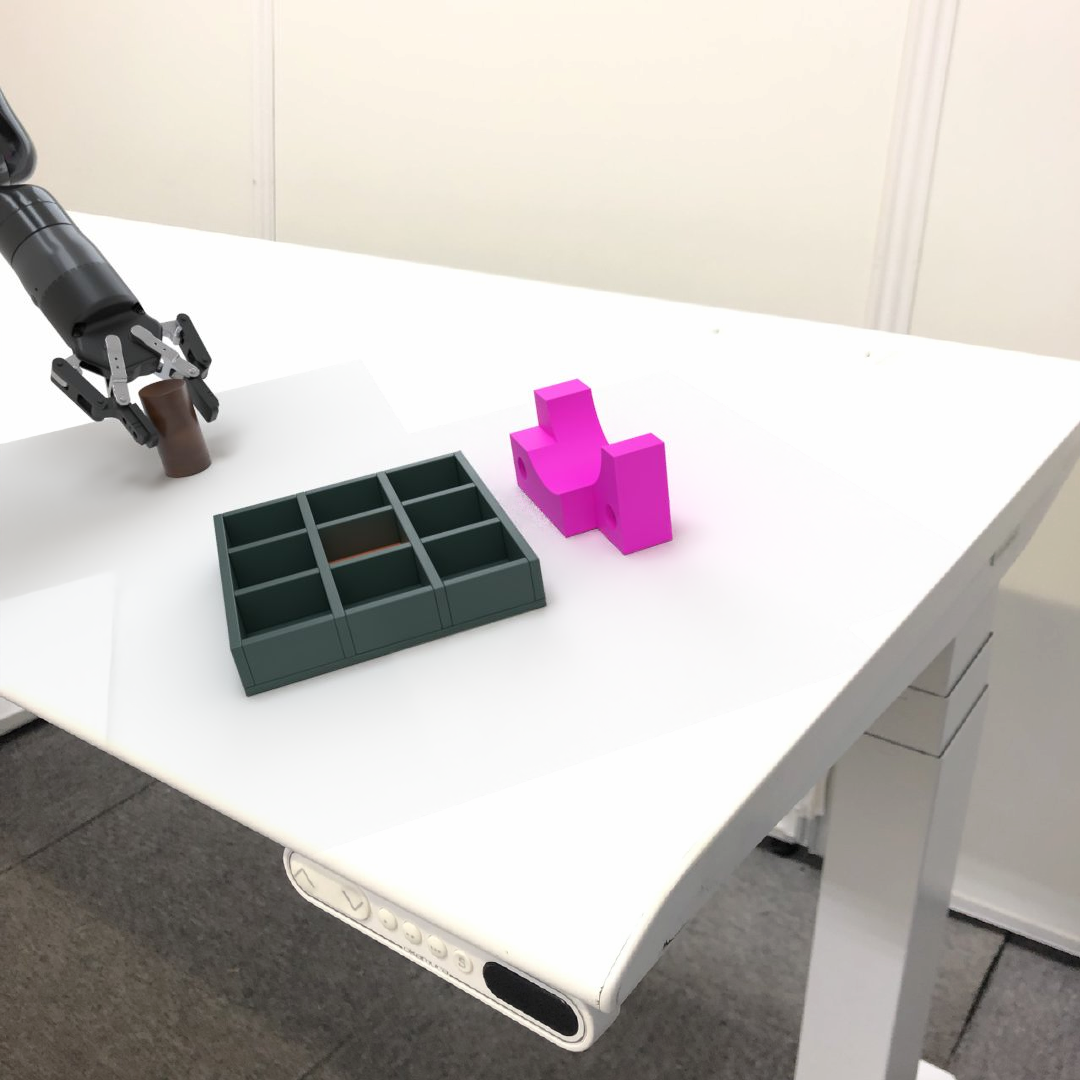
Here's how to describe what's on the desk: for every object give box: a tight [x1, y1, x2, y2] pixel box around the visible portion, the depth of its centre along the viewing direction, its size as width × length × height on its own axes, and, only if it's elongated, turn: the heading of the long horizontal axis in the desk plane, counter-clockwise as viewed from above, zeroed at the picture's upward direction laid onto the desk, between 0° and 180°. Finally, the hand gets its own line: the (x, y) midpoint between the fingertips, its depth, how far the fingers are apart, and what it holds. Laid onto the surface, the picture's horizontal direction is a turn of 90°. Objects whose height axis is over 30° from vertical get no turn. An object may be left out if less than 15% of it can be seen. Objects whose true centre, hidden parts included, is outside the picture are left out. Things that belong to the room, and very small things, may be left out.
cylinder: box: [137, 379, 212, 478], centre depth 94 cm, size 4×4×8 cm
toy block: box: [509, 378, 674, 556], centre depth 76 cm, size 15×6×8 cm, turn 21°
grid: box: [212, 450, 547, 697], centre depth 73 cm, size 20×20×4 cm
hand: (185, 428), depth 93 cm, fingers open, 5 cm apart
